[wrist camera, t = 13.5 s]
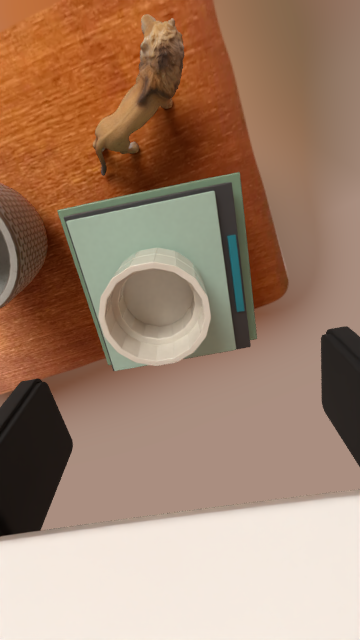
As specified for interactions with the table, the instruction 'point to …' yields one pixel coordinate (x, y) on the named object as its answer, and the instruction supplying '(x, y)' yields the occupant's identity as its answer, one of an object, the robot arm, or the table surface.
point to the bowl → (155, 308)
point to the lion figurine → (144, 88)
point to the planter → (19, 243)
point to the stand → (165, 191)
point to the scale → (178, 235)
